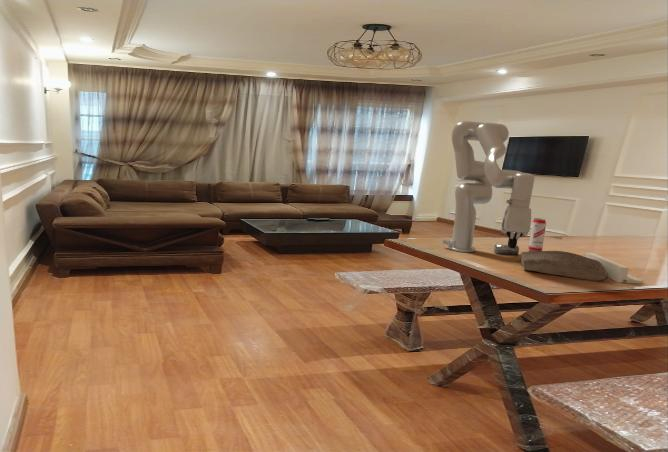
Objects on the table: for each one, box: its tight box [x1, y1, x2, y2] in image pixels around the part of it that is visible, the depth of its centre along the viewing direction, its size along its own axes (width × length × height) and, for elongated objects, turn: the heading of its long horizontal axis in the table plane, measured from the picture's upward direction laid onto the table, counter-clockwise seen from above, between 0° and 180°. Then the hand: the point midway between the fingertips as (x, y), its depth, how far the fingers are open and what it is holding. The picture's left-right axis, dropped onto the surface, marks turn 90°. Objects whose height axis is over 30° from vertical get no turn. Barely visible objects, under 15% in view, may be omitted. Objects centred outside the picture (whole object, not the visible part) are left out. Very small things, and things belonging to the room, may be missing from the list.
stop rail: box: [585, 252, 644, 285], centre depth 185 cm, size 10×24×6 cm, turn 0°
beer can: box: [528, 217, 547, 251], centre depth 221 cm, size 6×6×16 cm
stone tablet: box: [520, 250, 608, 282], centre depth 184 cm, size 20×8×30 cm
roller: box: [493, 243, 520, 256], centre depth 210 cm, size 10×4×4 cm
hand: (511, 247), depth 184 cm, fingers closed
